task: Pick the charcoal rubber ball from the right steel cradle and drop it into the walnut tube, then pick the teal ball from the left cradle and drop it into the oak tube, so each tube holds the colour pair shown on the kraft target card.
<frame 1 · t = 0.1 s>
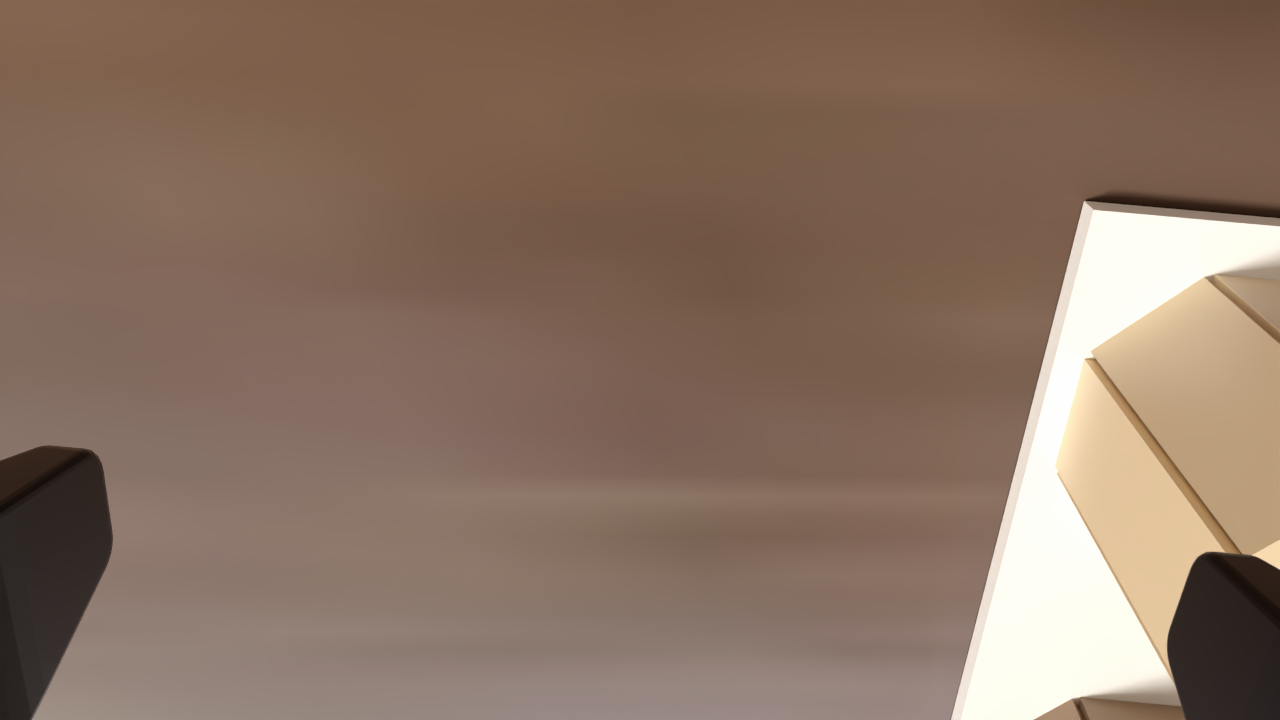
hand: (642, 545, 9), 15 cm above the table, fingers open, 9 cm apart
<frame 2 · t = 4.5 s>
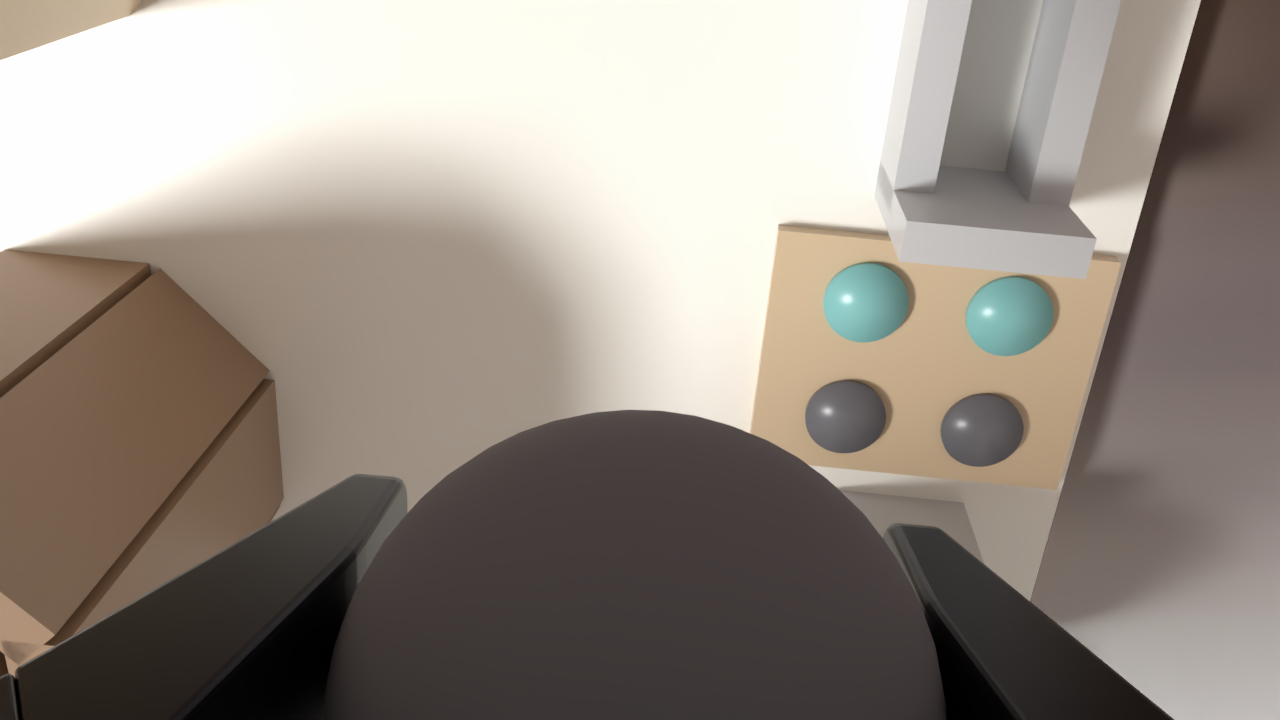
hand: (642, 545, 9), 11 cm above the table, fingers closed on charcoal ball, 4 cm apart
board: (476, 196, 20), on the table
charcoal ball: (634, 711, 7), point 13 cm above the table, touching gripper
when the fingers open (8 cm above the table, at t = 5.8 s): charcoal ball drops 4 cm and tips over, resting on board, charcoal ball in tube.
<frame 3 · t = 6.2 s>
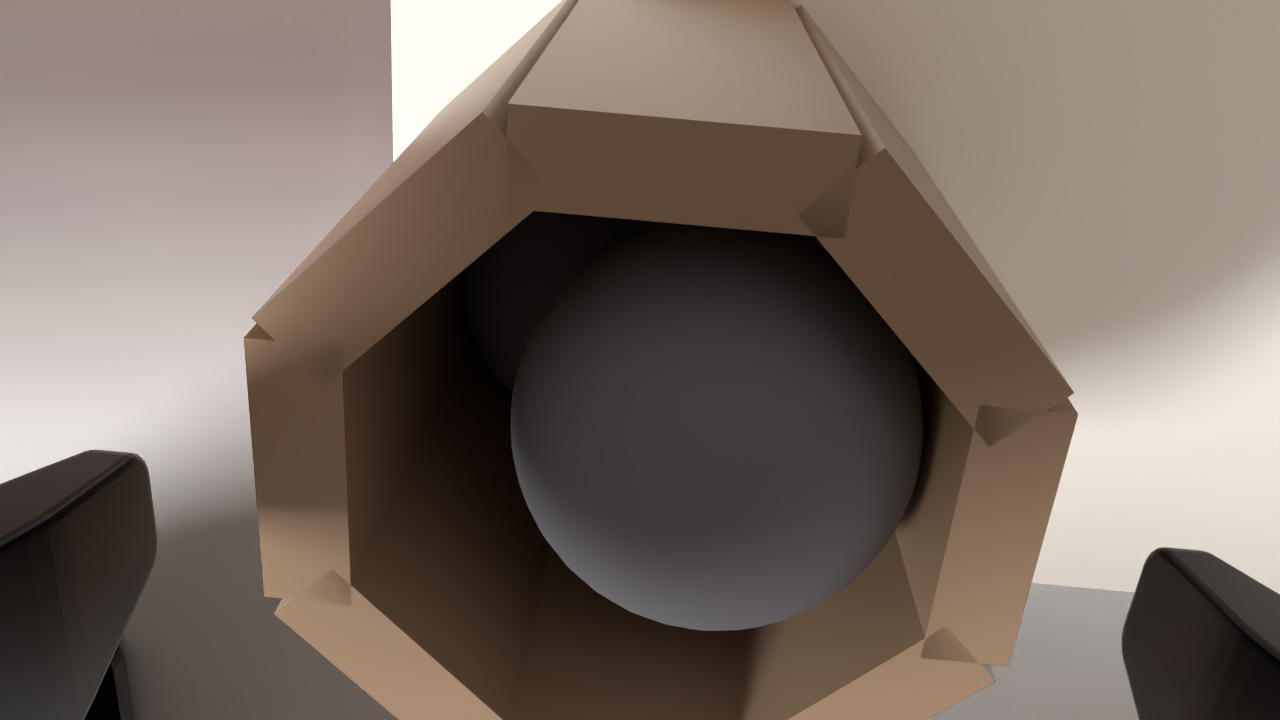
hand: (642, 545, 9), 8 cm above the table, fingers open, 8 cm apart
charcoal ball in tube: (617, 278, 15), point 3 cm above the table, tilted 9°, touching board, charcoal ball
charcoal ball: (714, 422, 11), point 6 cm above the table, tilted 35°, touching board, charcoal ball in tube
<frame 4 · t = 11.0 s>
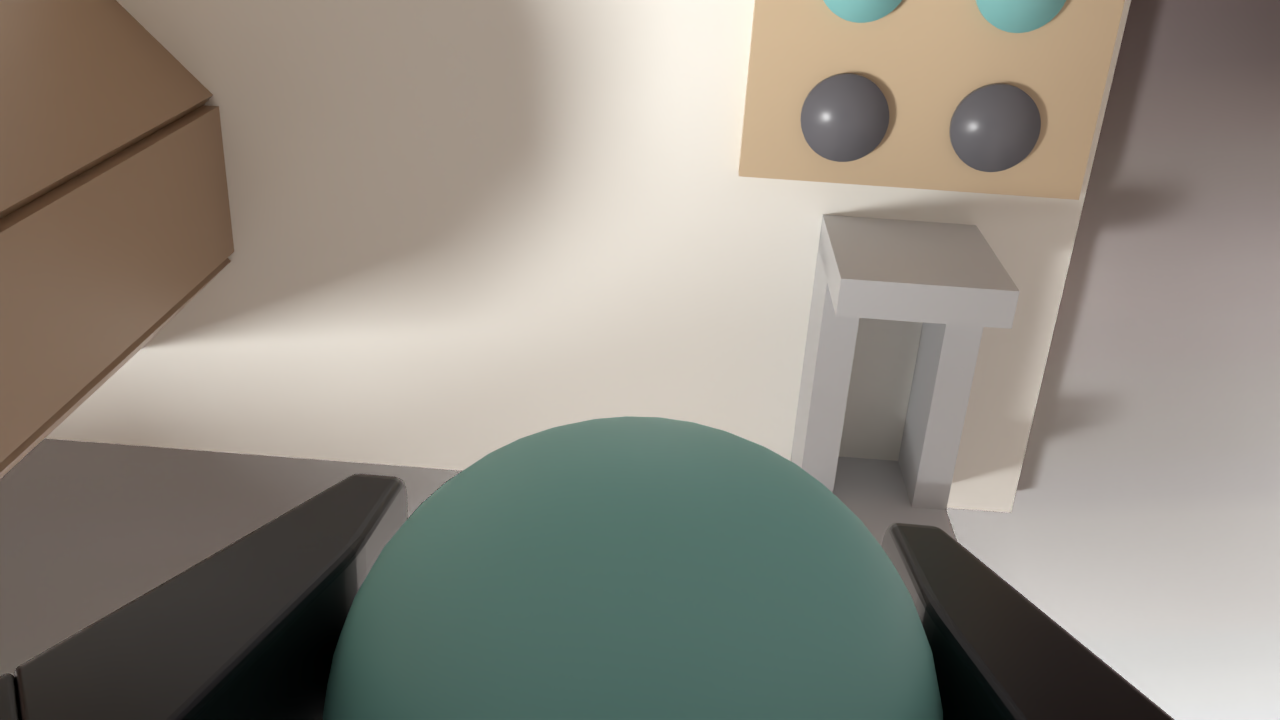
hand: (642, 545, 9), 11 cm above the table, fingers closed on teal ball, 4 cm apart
teal ball: (633, 716, 8), point 13 cm above the table, touching gripper
when the fingers open (8 cm above the table, at t = 12.4 s): teal ball drops 4 cm and tips over, resting on board, teal ball in tube.
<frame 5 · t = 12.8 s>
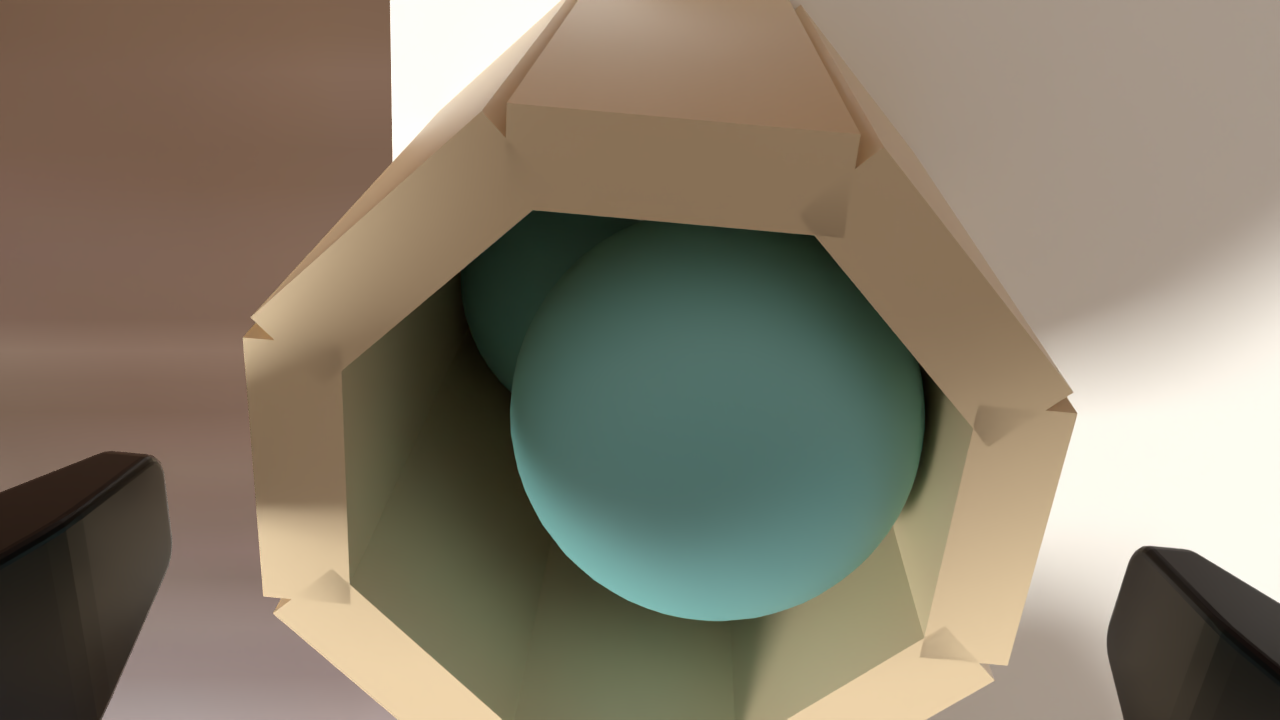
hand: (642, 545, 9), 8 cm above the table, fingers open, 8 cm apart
board: (1041, 587, 19), on the table
teal ball in tube: (616, 278, 15), point 3 cm above the table, tilted 9°, touching board, teal ball
teal ball: (715, 412, 11), point 6 cm above the table, tilted 33°, touching board, teal ball in tube
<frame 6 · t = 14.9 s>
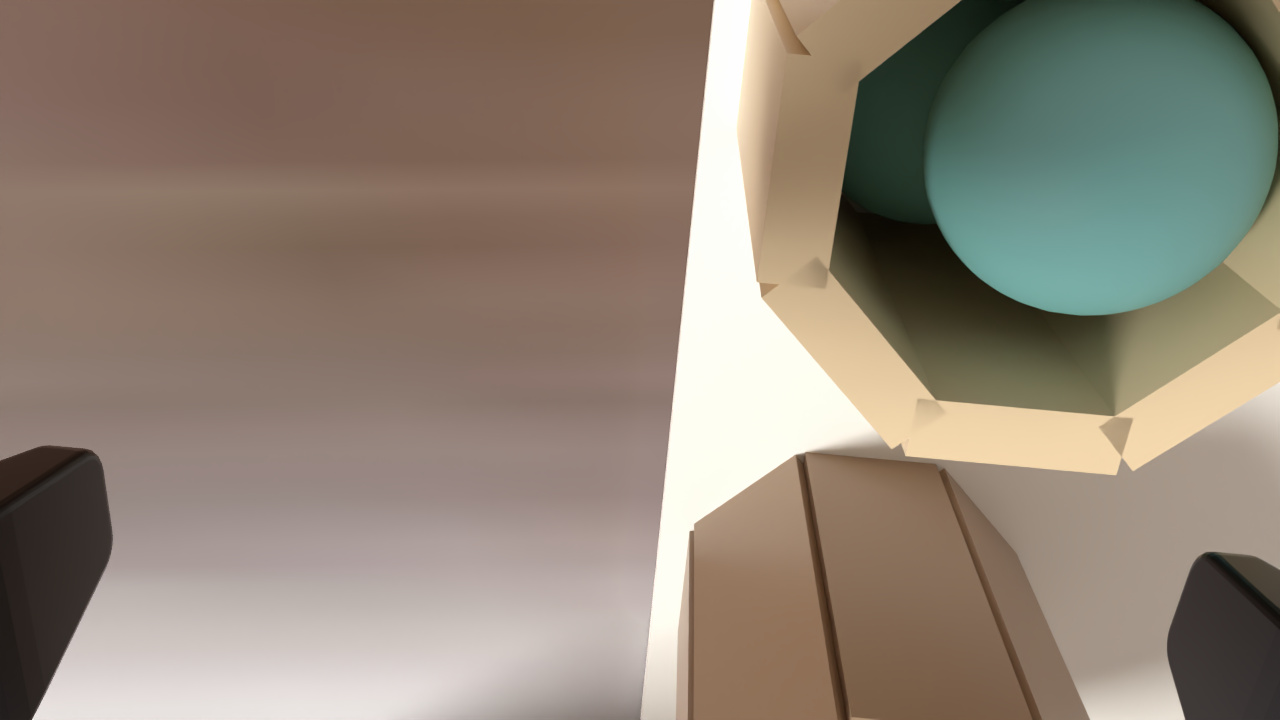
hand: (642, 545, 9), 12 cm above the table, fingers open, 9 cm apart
board: (1234, 404, 22), on the table
teal ball in tube: (931, 93, 17), point 3 cm above the table, tilted 9°, touching board, teal ball
teal ball: (1090, 152, 14), point 6 cm above the table, tilted 33°, touching board, teal ball in tube
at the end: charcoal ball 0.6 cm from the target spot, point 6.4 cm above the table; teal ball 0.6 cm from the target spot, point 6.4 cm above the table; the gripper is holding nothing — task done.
